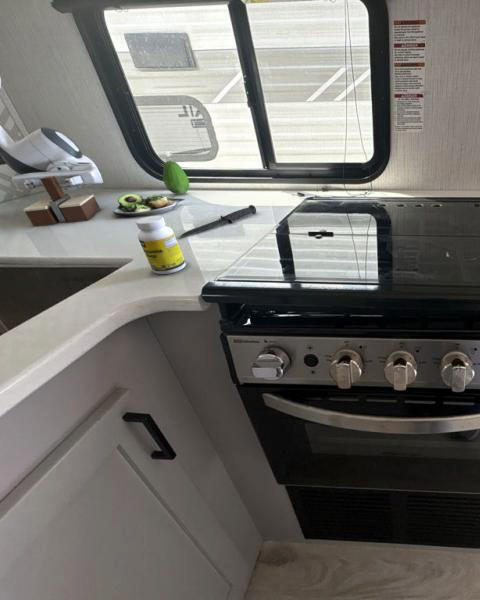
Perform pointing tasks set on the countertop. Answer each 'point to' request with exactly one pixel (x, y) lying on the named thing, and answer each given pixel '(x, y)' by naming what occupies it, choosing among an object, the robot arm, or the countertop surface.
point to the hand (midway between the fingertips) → (48, 184)
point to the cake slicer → (55, 195)
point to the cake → (63, 210)
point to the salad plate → (144, 205)
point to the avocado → (175, 178)
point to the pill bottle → (160, 245)
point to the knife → (223, 220)
